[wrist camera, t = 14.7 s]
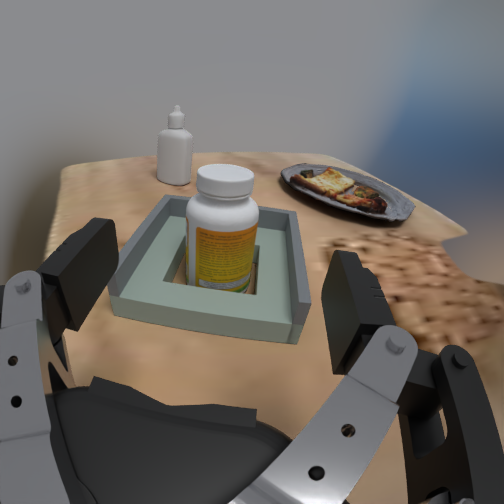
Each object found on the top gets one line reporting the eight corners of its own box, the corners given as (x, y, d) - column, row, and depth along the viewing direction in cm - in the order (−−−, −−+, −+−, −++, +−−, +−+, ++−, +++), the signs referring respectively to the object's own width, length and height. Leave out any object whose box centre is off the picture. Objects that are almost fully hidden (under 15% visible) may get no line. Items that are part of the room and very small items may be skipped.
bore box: (297, 344, 20) (311, 303, 18) (114, 315, 20) (104, 272, 18) (288, 245, 32) (296, 211, 30) (165, 228, 32) (165, 194, 30)
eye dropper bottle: (179, 174, 47) (183, 103, 41) (193, 185, 44) (199, 107, 37) (154, 177, 45) (157, 104, 39) (166, 188, 41) (169, 107, 35)
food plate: (391, 246, 35) (400, 221, 33) (252, 186, 47) (255, 165, 45) (417, 209, 53) (422, 193, 51) (321, 170, 64) (325, 156, 63)
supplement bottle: (262, 287, 25) (281, 177, 20) (211, 313, 22) (218, 190, 17) (222, 257, 28) (231, 157, 23) (174, 276, 25) (173, 166, 20)
